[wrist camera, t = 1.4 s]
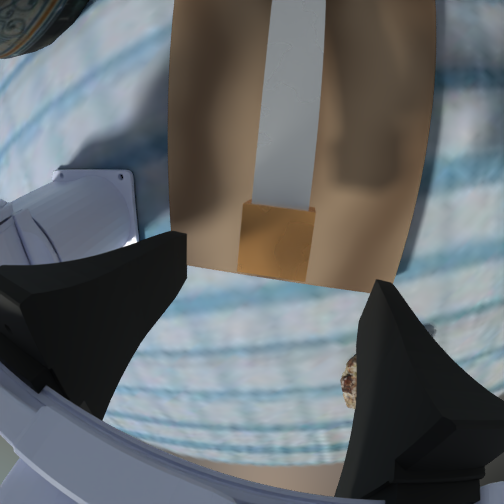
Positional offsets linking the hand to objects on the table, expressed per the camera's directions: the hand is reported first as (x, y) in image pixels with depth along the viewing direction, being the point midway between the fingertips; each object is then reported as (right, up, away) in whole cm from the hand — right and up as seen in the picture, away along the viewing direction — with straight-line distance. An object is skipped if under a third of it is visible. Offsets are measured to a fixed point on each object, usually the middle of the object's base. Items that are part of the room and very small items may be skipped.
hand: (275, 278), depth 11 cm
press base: (+2, +10, +6) cm, 12 cm away
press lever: (+1, +9, +1) cm, 9 cm away
